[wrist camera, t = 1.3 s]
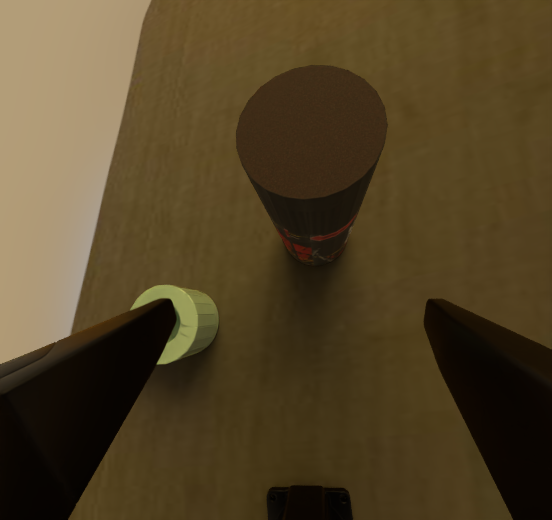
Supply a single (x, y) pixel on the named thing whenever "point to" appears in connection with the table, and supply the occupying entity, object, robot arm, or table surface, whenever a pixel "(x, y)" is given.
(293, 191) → the deodorant
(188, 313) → the stoneware cup
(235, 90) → the table surface
